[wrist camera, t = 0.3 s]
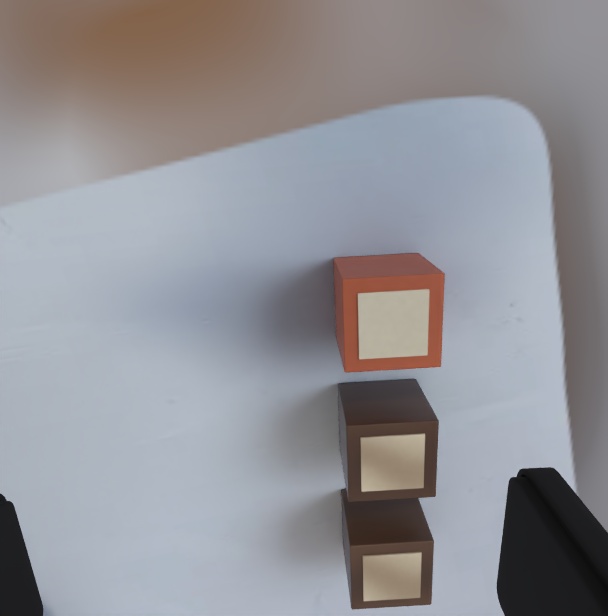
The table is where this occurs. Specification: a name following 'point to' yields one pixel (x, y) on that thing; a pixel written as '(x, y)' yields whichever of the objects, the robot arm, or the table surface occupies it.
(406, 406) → the brown wooden cube
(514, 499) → the robot arm
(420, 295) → the orange cube
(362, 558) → the brown wooden cube
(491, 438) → the table surface
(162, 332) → the table surface
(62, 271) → the table surface
